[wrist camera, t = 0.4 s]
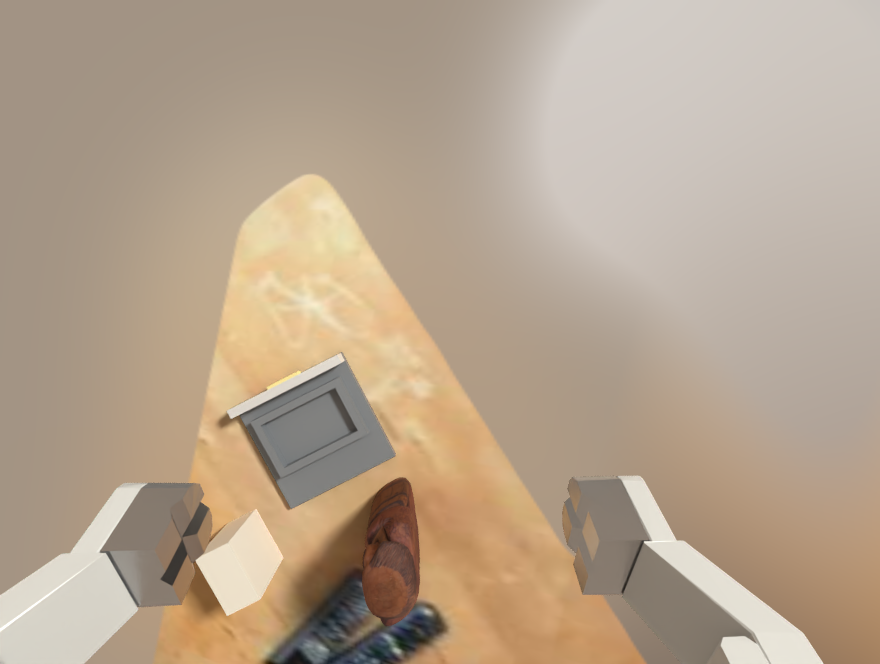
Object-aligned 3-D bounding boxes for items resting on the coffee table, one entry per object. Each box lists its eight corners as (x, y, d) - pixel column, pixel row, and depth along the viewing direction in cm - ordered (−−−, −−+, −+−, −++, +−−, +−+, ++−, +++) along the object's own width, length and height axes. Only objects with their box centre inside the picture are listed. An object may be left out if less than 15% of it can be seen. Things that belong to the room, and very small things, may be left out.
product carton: (256, 508, 63) (228, 542, 54) (283, 557, 64) (260, 599, 55) (225, 523, 63) (193, 560, 54) (253, 572, 64) (225, 616, 55)
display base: (395, 453, 64) (394, 462, 60) (293, 505, 64) (285, 517, 60) (340, 349, 62) (335, 352, 59) (236, 402, 62) (224, 408, 59)
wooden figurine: (369, 477, 64) (347, 547, 46) (414, 472, 64) (410, 539, 46) (378, 558, 64) (360, 658, 47) (423, 553, 65) (422, 650, 47)
